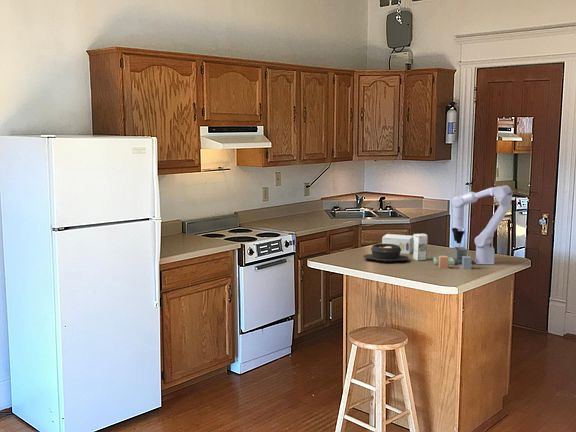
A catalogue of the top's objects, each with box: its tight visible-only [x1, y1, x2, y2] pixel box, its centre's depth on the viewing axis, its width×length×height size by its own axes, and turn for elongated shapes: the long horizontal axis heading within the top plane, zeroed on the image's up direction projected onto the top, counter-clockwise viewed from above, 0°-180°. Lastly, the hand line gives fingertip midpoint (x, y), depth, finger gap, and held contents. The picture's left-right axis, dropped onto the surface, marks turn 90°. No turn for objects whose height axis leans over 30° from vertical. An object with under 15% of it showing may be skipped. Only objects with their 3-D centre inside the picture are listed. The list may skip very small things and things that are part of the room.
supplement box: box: [381, 233, 414, 255], centre depth 376 cm, size 17×13×9 cm
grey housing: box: [453, 246, 468, 266], centre depth 342 cm, size 7×11×8 cm, turn 174°
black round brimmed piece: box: [362, 243, 409, 263], centre depth 348 cm, size 25×19×8 cm
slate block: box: [461, 256, 473, 270], centre depth 328 cm, size 4×4×6 cm
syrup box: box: [412, 233, 428, 262], centre depth 349 cm, size 6×6×14 cm
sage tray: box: [432, 256, 455, 266], centre depth 341 cm, size 10×10×2 cm
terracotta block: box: [438, 255, 449, 270], centre depth 329 cm, size 4×4×6 cm
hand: (457, 242), depth 350 cm, fingers open, 7 cm apart
